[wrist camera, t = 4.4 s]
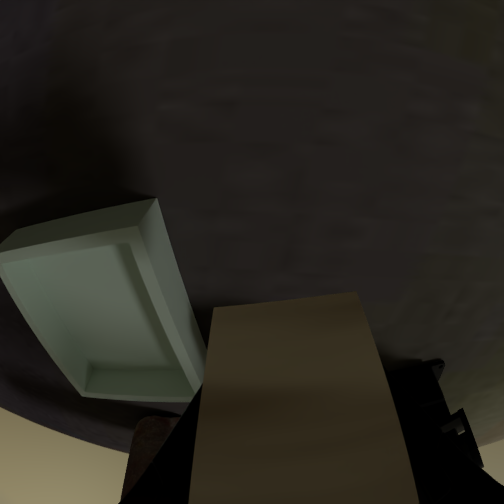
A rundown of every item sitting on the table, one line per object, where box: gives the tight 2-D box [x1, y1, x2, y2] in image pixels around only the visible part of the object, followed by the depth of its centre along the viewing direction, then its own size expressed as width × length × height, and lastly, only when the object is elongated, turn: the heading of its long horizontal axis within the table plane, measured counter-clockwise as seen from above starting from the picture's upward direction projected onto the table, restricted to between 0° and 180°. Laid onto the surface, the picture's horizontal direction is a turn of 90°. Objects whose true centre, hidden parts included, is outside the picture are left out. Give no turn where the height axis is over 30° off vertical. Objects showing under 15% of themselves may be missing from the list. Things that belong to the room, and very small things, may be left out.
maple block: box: [188, 291, 419, 504], centre depth 7 cm, size 4×4×6 cm
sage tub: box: [0, 198, 207, 402], centre depth 21 cm, size 15×12×4 cm
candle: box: [121, 415, 180, 500], centre depth 24 cm, size 8×7×20 cm
